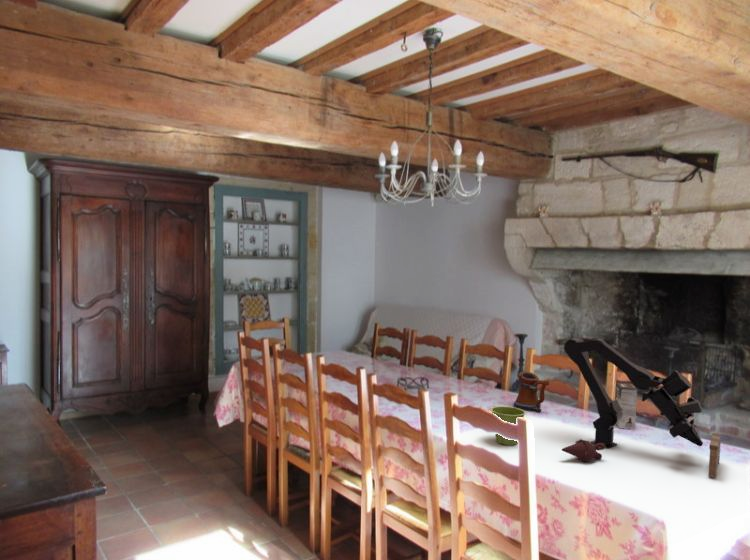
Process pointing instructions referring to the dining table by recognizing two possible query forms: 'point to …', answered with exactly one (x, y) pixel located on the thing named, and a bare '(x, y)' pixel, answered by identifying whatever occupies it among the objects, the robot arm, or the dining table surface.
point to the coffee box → (626, 404)
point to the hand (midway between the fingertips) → (701, 445)
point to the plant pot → (509, 416)
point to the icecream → (585, 450)
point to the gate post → (719, 448)
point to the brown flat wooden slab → (714, 454)
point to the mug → (530, 392)
